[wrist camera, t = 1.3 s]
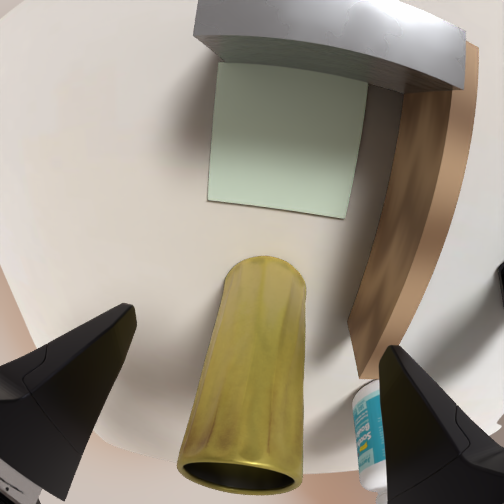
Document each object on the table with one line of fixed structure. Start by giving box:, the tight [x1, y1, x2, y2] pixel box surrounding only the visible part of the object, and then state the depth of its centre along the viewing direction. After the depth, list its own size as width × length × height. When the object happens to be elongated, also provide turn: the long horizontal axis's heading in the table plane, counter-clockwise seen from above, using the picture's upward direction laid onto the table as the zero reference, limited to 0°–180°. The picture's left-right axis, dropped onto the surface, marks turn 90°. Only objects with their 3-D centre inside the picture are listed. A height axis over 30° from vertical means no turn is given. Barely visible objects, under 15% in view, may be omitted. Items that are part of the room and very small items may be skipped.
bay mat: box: [208, 62, 368, 219], centre depth 16 cm, size 9×9×1 cm
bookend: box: [193, 0, 466, 94], centre depth 10 cm, size 7×11×7 cm, turn 84°
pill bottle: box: [352, 379, 388, 504], centre depth 20 cm, size 8×7×14 cm
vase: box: [177, 256, 306, 495], centre depth 15 cm, size 6×6×14 cm
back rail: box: [347, 41, 479, 379], centre depth 15 cm, size 20×2×6 cm, turn 174°
